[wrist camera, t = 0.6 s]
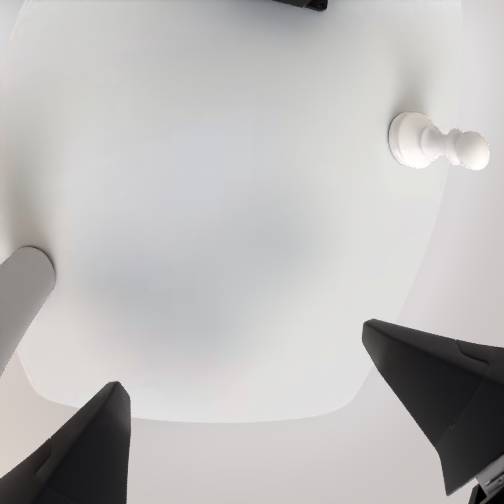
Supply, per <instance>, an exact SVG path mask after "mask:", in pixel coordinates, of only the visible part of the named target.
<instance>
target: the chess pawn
mask: <svg viewBox="0 0 504 504" xmlns="http://www.w3.org/2000/svg"><path fill="white" fill-rule="evenodd" d="M389 144H390V149H391V151H392V153H393V155H394V157H395V158H396V159H397V161H399V162H400V163H401V164H403V165H406V166H409V167H413V168H424V167H426V166H428V165H429V164H430V163H431V162H432V160H436V159H438V158H439V157H440V156H441V155H447V158H448V160H449V162H450V163H451V164H452V165H454V166H459V165H461V164H462V165H463V166H464V167H466V168H468V169H470V170H480V169H482V168H484V167H485V166H486V165H487V163H488V161H489V157H490V149H489V146H488V143H487V141H486V140H485V138H484V137H482V136H481V135H480V134H479V133H476V132H472V131H468V132H465V133H462V131H460V130H459V129H452V130H451V131H450V132H449V133H448V135H445V134H442V133H441V131H440V130H439V129H438V128H437V127H436V126H434V125H433V123H432V122H431V120H430V119H429V118H428V117H427V116H425V115H424V114H422V113H418V112H414V113H413V112H404V113H401V114H399V115H398V116H396V118H395V119H394V120H393V121H392V124H391V126H390V130H389Z"/></svg>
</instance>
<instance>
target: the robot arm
mask: <svg viewBox="0 0 504 504" xmlns="http://www.w3.org/2000/svg"><path fill="white" fill-rule="evenodd" d="M273 1H278V2H282V3H286V4H290V5H294V6H298V7H306V8H309V9H313V10H316V11H320V12H322V11H324V10H325V9H327V2H328V0H273ZM318 4H320V5H321V6H322V8H321V7H319V6H318ZM362 342H363V345H364V347H365V348H366V350H367V352H368V354H369V355H370V357H371V359H372V361H373V362H374V364H375V366H376V368H377V369H378V371H379V372H380V373H381V375H382V376H383V378H384V379H385V381H386V382H387V383H388V385H389V386H390V387H391V389H392V390H393V391H394V393H395V394H396V395H397V397H398V398H399V399H400V401H401V402H402V403H403V404H404V406H405V407H406V409H407V410H408V412H409V413H410V414H411V416H412V417H413V418H414V420H415V421H416V423H417V424H418V425H419V427H420V428H421V429H422V431H423V432H424V434H425V435H426V436H427V438H428V439H429V441H430V442H431V443H432V445H433V446H434V447H435V449H436V451H437V452H438V454H439V457H440V460H441V465H442V471H443V477H444V483H445V490H446V495H447V496H449V495H451V494H452V493H454V492H456V491H457V490H458V489H460V488H461V487H463V486H464V485H466V484H467V483H469V482H470V481H471V480H473V479H474V478H475V477H476V479H477V480H478V482H479V483H478V484H477V485H476V486H475V487H474V488H473V490H472V493H471V497H470V500H469V503H468V504H504V348H502V347H494V346H487V345H480V344H475V343H470V342H466V341H461V340H455V339H452V338H447V337H443V336H439V335H435V334H431V333H427V332H423V331H419V330H415V329H411V328H407V327H403V326H399V325H396V324H392V323H388V322H384V321H381V320H377V319H371V320H368V321H366V322H364V324H363V332H362ZM130 434H131V407H130V397H129V395H128V393H127V392H126V390H125V389H124V387H123V386H122V385H121V383H120V382H118V381H115V382H109V383H107V384H106V385H105V386H104V387H103V388H102V389H101V390H100V391H99V392H98V393H97V394H96V395H95V396H94V397H93V398H92V399H91V400H89V401H88V402H87V403H86V404H85V405H84V406H83V407H82V408H81V409H80V410H79V411H78V412H77V413H76V414H75V415H74V416H73V417H72V418H70V419H69V420H68V421H67V422H66V423H65V424H64V425H63V426H62V427H61V428H60V429H59V430H58V431H57V432H56V433H55V434H53V435H52V436H51V439H50V438H49V439H48V440H47V441H46V442H45V443H44V444H43V445H41V446H40V447H39V448H38V449H37V450H36V451H35V452H33V453H32V454H31V455H30V456H29V457H27V458H26V459H25V460H24V461H22V462H21V463H20V464H18V465H17V466H16V467H15V468H14V469H12V470H11V471H10V472H8V473H7V474H6V475H4V476H3V477H2V478H1V479H0V504H126V500H127V498H126V497H127V475H128V460H129V447H130V436H131V435H130Z"/></svg>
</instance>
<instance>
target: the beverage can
mask: <svg viewBox="0 0 504 504" xmlns="http://www.w3.org/2000/svg"><path fill="white" fill-rule="evenodd" d="M54 285H55V272H54V268H53V266H52V264H51V262H50V260H49V259H48V257H47V256H46V255H45V254H44V253H43V252H42V251H40V250H38V249H36V248H32V247H22V248H19V249H18V250H17V251H16V252H14V253H13V254H12V255H11V256H10V257H9V258H8V259H7V260H5V261H4V262H3V263H2V264H1V265H0V377H1V375H2V373H3V371H4V369H5V368H6V366H7V364H8V362H9V359H10V358H11V356H12V354H13V353H14V351H15V349H16V347H17V346H18V344H19V342H20V340H21V339H22V337H23V335H24V334H25V332H26V330H27V329H28V327H29V326H30V324H31V322H32V321H33V319H34V318H35V316H36V314H37V313H38V311H39V310H40V308H41V307H42V305H43V304H44V302H45V301H46V299H47V298H48V296H49V295H50V293H51V292H52V290H53V289H54Z"/></svg>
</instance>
